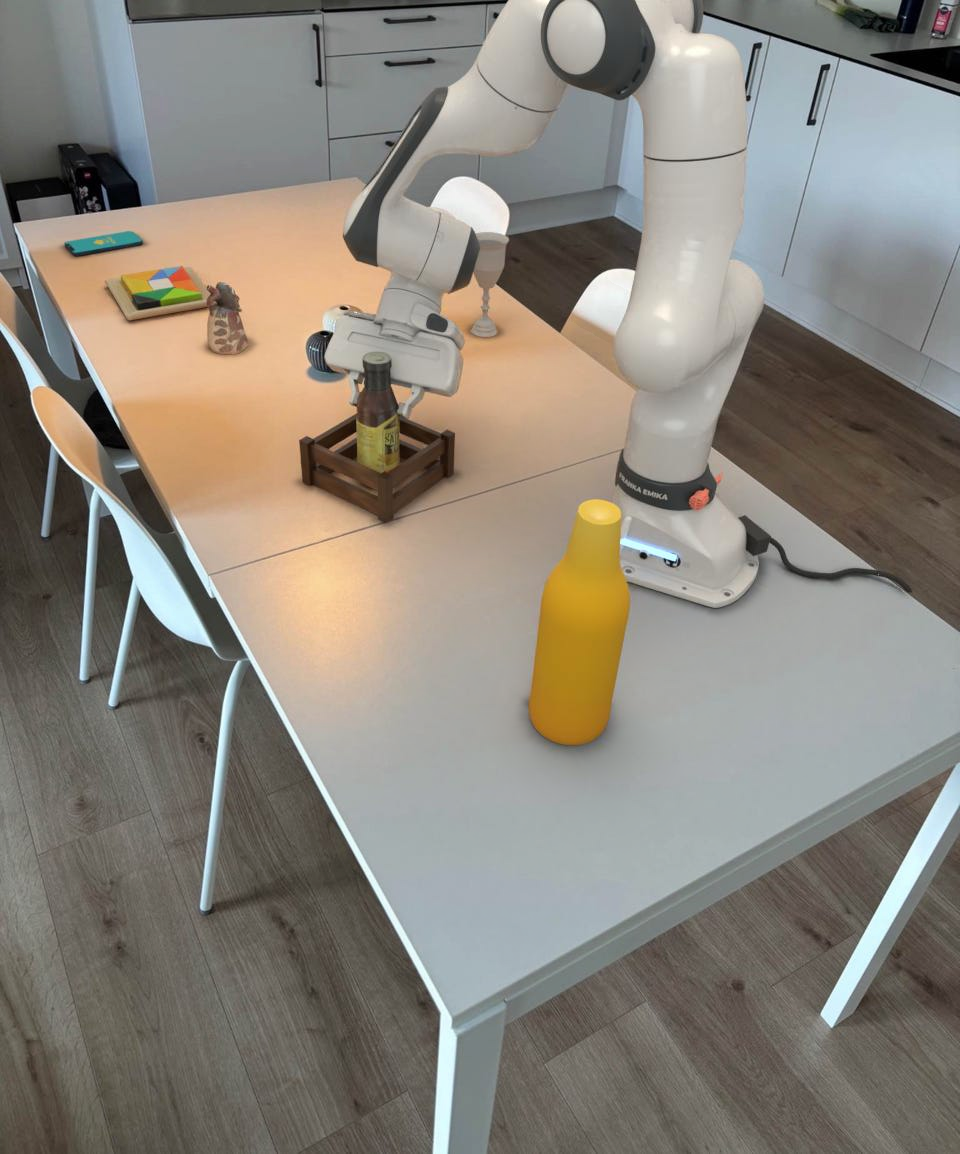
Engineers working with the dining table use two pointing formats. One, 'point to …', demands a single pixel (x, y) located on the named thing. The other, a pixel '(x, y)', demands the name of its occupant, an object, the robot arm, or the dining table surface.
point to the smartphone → (103, 243)
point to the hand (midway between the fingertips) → (378, 411)
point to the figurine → (225, 321)
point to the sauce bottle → (377, 416)
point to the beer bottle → (581, 630)
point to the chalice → (488, 276)
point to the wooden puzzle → (159, 292)
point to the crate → (386, 503)
